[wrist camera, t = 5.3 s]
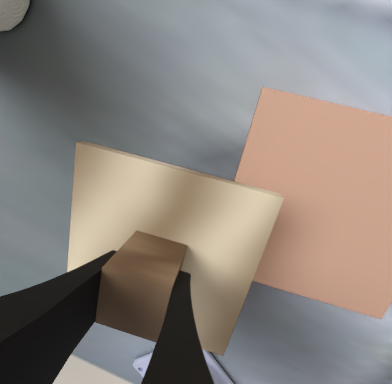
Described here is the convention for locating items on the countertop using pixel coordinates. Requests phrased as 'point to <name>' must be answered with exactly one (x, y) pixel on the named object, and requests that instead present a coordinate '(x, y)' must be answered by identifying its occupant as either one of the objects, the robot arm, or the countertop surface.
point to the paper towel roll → (12, 13)
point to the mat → (324, 199)
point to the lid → (166, 240)
